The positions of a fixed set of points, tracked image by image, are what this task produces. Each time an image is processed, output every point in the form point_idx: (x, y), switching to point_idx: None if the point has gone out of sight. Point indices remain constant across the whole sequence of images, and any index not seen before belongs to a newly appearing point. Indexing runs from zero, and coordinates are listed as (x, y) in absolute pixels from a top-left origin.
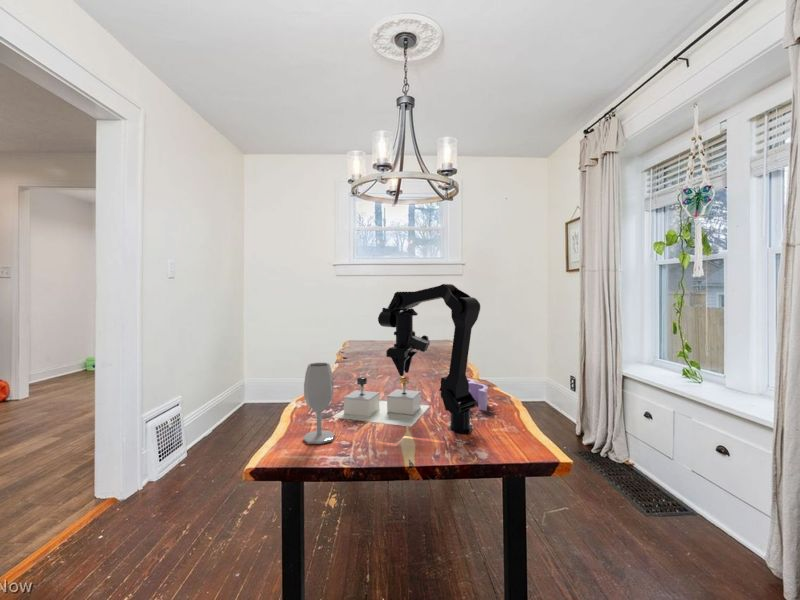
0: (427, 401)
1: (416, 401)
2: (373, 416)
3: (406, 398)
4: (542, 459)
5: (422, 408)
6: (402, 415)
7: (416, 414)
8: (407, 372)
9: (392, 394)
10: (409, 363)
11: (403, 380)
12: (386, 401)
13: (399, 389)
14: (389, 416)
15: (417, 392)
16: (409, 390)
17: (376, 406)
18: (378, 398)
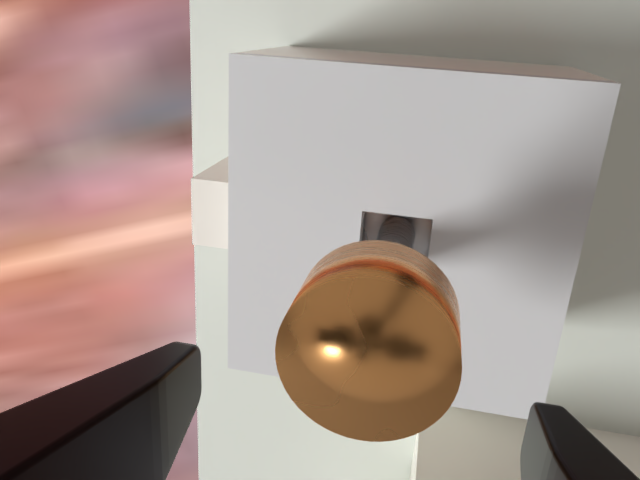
0: (28, 34)
1: (433, 63)
2: (635, 411)
3: (595, 178)
4: None
5: (303, 20)
6: None
7: (516, 38)
8: (199, 356)
9: (470, 373)
10: (62, 456)
11: (460, 342)
12: (202, 382)
13: (229, 332)
14: (618, 284)
15: (297, 84)
16: (235, 210)
17: (492, 439)
18: (443, 473)
